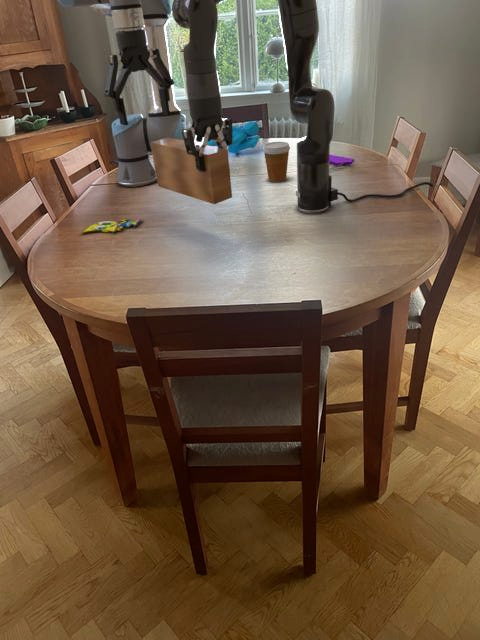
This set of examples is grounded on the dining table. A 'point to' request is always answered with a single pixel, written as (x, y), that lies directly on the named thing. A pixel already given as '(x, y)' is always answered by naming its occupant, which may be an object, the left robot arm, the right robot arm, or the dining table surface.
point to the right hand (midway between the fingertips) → (212, 167)
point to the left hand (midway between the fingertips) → (145, 119)
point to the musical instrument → (340, 160)
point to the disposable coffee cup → (276, 160)
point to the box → (192, 171)
